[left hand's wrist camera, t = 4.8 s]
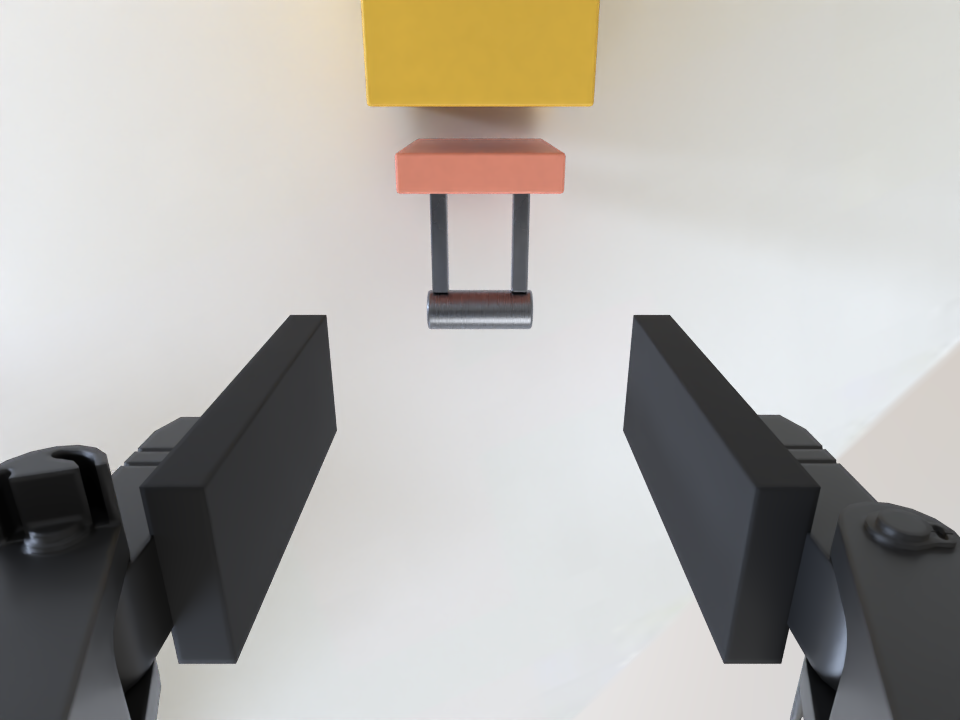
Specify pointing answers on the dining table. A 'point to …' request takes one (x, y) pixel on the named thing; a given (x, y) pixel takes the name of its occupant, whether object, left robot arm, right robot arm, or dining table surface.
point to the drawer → (480, 172)
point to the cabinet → (480, 52)
